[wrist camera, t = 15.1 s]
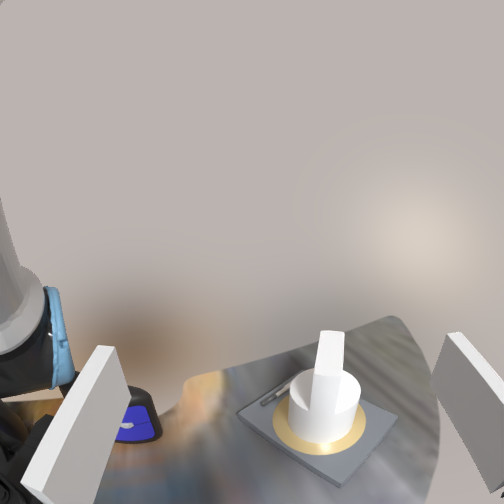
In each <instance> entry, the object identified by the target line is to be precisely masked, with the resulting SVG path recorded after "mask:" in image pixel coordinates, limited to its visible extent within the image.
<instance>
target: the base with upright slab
mask: <svg viewBox="0 0 504 504" xmlns="http://www.w3.org/2000/svg"><path fill="white" fill-rule="evenodd" d="M343 354H344V332H339V331H321V334H320V340H319V346H318V352H317V357H316V363H315V368H312V369H309V370H306V371H303V372H302V373H300V374H298V375H297V376H296V377H295V378H294V379H293V381H292V383H291V385H290V396H289V413H288V424H289V427H290V429H291V430H292V432H293V433H294V434H295V435H296V436H298V437H299V438H300V439H302V440H305V441H307V442H311V443H316V444H326V443H331V442H335V441H337V440H339V439H341V438H343V437H344V436H345V435H346V434H348V432H349V431H350V429H351V428H352V424H353V421H354V417H355V413H356V410H357V406H358V402H359V398H360V393H361V389H360V385H359V383H358V381H357V380H356V379H355V378H354V377H353V376H352V375H351V374H349V373H347V372H345V371H343Z"/></svg>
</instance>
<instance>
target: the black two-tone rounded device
mask: <svg viewBox="0 0 504 504" xmlns="http://www.w3.org/2000/svg"><path fill="white" fill-rule="evenodd" d="M79 374H80V372H77V371H75V375H74V378H73V380H72V381H71V382H69V383H66V384H63V385H60V386H59V388H60V391H61V393H62V395H63V397H64V399H65V398H66V396H67V394H68V392H69V391H70V389H71V387H72V386H73V384H74V382H75V381H76V379H77V377H78V376H79ZM127 386H128V385H127ZM128 389H129V392H130V395H131V399H130V402H129V405H128V407H127V410H126V412H125V415H124V418H123V420H122V423H121V425H120V428H119V431H118V434H117V436H116V439H115V442H117V443H124V444H139V443H147V442H151V441H154V440H156V439H158V438H160V437H161V435H162V433H163V431H162V427H161V425H160V422H159V419H158V416H157V413H156V410H155V407H154V404H153V401H152V398H151V396H150V394H149V393H148V392H146V391H144V390H142V389H140V388H137V387H133V386H128Z"/></svg>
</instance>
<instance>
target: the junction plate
mask: <svg viewBox="0 0 504 504" xmlns="http://www.w3.org/2000/svg"><path fill="white" fill-rule="evenodd" d="M303 371H306V370H304V369H302V370H301V371H299V372H298V373H296V374H295V375H294V376H292V377H291V378H289V379H288V380H286V381H285V382H284V383H282V384H281V385H279V386H278V387H276V388H275V389H273V390H272V391H270V392H269V393H267V394H266V395H264V396H263V397H261V398H260V399H258V400H257V401H255V402H254V403H252V404H251V405H249V406H248V407H246V408H244V409H243V410H241V411H240V412H238V418H239V419H240V420H241V421H243V422H244V423H245V424H246V425H248V426H249V427H250V428H252V429H253V430H254V431H255V432H257V433H258V434H259V435H261V436H262V437H263V438H265V439H266V440H267V441H269V442H270V443H272V444H273V445H274V446H276V447H277V448H278V449H280V450H281V451H283V452H284V453H286V454H287V455H288V456H290V457H291V458H293V459H294V460H296V461H297V462H299V463H300V464H302V465H303V466H305V467H306V468H308V469H309V470H311V471H312V472H314V473H315V474H317V475H319V476H320V477H322V478H323V479H325V480H327V481H328V482H330V483H332V484H333V485H335V486H337V487H338V488H341V487H342V486H343V485H344V484H345V483H346V482H347V480H348V479H349V478H350V477H351V476H352V475H353V474H354V473H355V472H356V471H357V469H358V468H359V467H360V466H361V465H362V464H363V463H364V461H365V460H366V459H367V458H368V457H369V456H370V454H371V453H372V452H373V451H374V450H375V448H376V447H377V446H378V445H379V443H380V442H381V441H382V440H383V438H384V437H385V436H386V434H387V433H388V432H389V430H390V429H391V428H392V426H393V425H394V424H395V422H396V420H397V418H398V416H396V415H394V414H392V413H390V412H388V411H385V410H383V409H381V408H379V407H377V406H375V405H373V404H371V403H369V402H366V401H364V400H362V399H360V398H359V402H358V406H357V410H356V413H355V417H354V421H353V424H352V428H351V429H350V431H349V432H348V434H346V435H345V436H344V437H343V438H341V439H339V440H337V441H335V442H331V443H326V444H316V443H311V442H307V441H305V440H302V439H300V438H299V437H298V436H296V435H295V434H294V433H293V432H292V430H291V429H290V427H289V424H288V413H289V396H290V385H291V383H292V381H293V379H294V378H295V377H296V376H297V375H298V374H300V373H302V372H303Z"/></svg>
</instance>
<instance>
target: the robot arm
mask: <svg viewBox="0 0 504 504" xmlns="http://www.w3.org/2000/svg"><path fill="white" fill-rule="evenodd" d="M3 1H4V0H0V4H1V3H2V2H3ZM74 375H75V368H74V365H73V361H72V357H71V353H70V349H69V344H68V339H67V334H66V329H65V324H64V319H63V313H62V308H61V302H60V296H59V291H58V289H57V288H55V287H48V286H45V287H42V285H41V283H40V281H39V279H38V277H37V276H36V275H35V274H33V272H32V271H30V270H29V269H27V268H25V267H23V266H20V264H19V261H18V258H17V255H16V252H15V249H14V246H13V243H12V240H11V236H10V233H9V229H8V226H7V222H6V219H5V215H4V211H3V207H2V203H1V199H0V504H93V503H94V500H95V497H96V494H97V490H98V487H99V484H100V481H101V479H102V476H103V473H104V470H105V467H106V464H107V461H108V458H109V456H110V453H111V450H112V447H113V444H114V442H115V439H116V436H117V434H118V431H119V428H120V425H121V423H122V420H123V418H124V415H125V412H126V410H127V407H128V405H129V402H130V399H131V395H130V392H129V389H128V386H127V384H126V381H125V377H124V374H123V371H122V368H121V365H120V362H119V359H118V355H117V352H116V349H115V347H112V346H102V345H98V346H97V347H96V349H95V350H94V352H93V353H92V355H91V357H90V358H89V360H88V361H87V363H86V364H85V366H84V368H83V369H82V371H81V373H80V374H79V376H78V377H77V379H76V381H75V382H74V384H73V386H72V387H71V389H70V391H69V392H68V394H67V396H66V398H65V399H64V401H63V403H62V404H61V406H60V408H59V410H58V411H57V413H56V415H55V417H54V416H51V415H47V414H46V415H44V416H43V417H42V418H41V419H40V420H39V421H37V422H36V423H35V425H34V427H33V428H32V430H31V432H30V433H29V431H28V429H27V427H26V426H25V424H24V423H23V421H22V419H21V418H20V417H19V416H18V415H17V414H16V413H15V412H14V411H13V410H12V409H11V408H10V407H8V406H7V405H6V404H5V403H4V402H3V401H2V400H1V398H6V397H11V396H16V395H21V394H26V393H31V392H35V391H39V390H44V389H50V390H52V389H54V388H55V387H57V386H60V385H63V384H66V383H69V382H71V381H72V380H73V378H74ZM429 385H430V386H431V388H432V390H433V391H434V393H435V394H436V396H437V398H438V399H439V401H440V403H441V404H442V406H443V408H444V409H445V411H446V413H447V414H448V416H449V417H450V419H451V421H452V423H453V424H454V426H455V428H456V430H457V431H458V433H459V435H460V437H461V438H462V440H463V442H464V444H465V446H466V447H467V449H468V451H469V453H470V455H471V456H472V458H473V460H474V462H475V464H476V466H477V468H478V470H479V472H480V474H481V475H482V478H483V479H484V481H485V483H486V485H487V487H488V489H489V491H490V493H493V492H494V491H496V490H498V489H499V488H501V487H503V486H504V382H503V380H502V379H501V378H500V377H499V375H498V374H497V373H496V372H495V371H494V369H493V368H492V367H491V366H490V365H489V364H488V362H487V361H486V360H485V359H484V358H483V357H482V355H481V354H480V353H479V352H478V351H477V350H476V349H475V348H474V346H473V345H472V344H471V343H470V342H469V341H468V340H467V339H466V338H465V336H464V335H463V334H462V333H461V332H455V333H449V334H447V335H446V338H445V341H444V343H443V346H442V349H441V352H440V355H439V357H438V360H437V363H436V365H435V368H434V370H433V373H432V375H431V378H430V380H429ZM503 497H504V492H503V493H502V496H501V498H503Z"/></svg>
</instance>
